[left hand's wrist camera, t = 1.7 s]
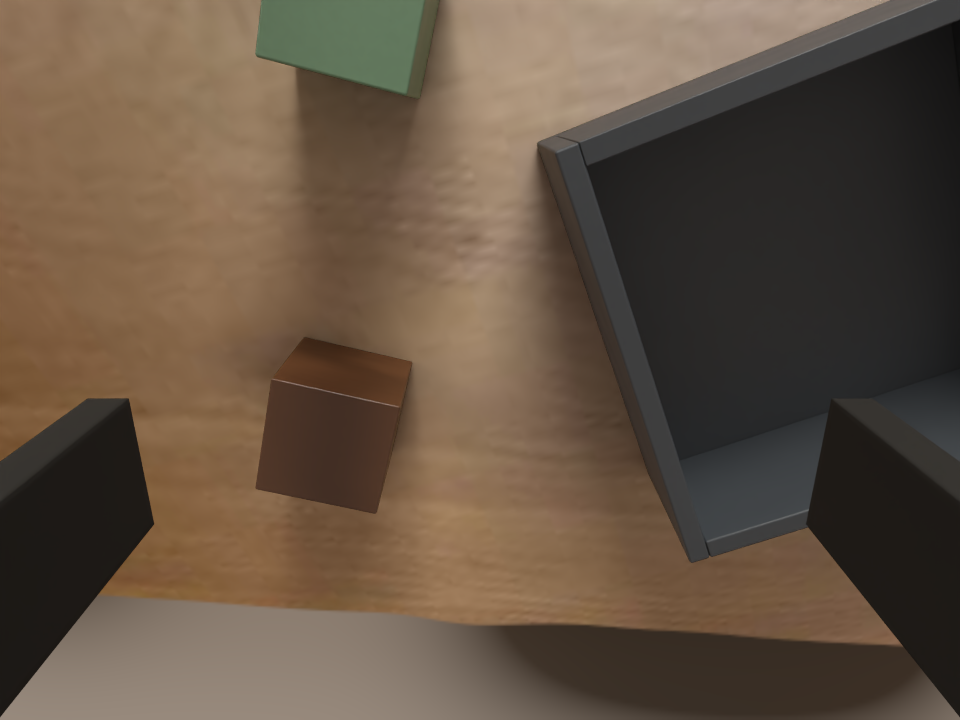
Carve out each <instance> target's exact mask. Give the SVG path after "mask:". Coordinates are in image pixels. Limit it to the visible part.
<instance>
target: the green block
mask: <svg viewBox="0 0 960 720" xmlns="http://www.w3.org/2000/svg"><path fill="white" fill-rule="evenodd" d="M438 5H439V0H262V1H261V9H260V18H259V27H258V35H257V44H256V53H255V54H256V56H257V57H259V58H263V59H267V60H271V61H274V62H278V63H282V64H286V65H290V66H293V67H297V68H301V69H305V70H309V71H312V72H316V73H320V74H324V75H328V76H331V77H335V78H339V79H343V80H346V81H350V82H354V83H358V84H362V85H365V86H369V87H373V88H377V89H381V90H384V91H388V92H392V93H396V94H400V95H403V96H408V97H412V98H416V99H419V98H420V95H421V90H422V85H423V80H424V75H425V70H426V65H427V60H428V55H429V50H430V45H431V40H432V35H433V30H434V25H435V20H436V15H437V10H438Z"/></svg>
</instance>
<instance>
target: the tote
mask: <svg viewBox="0 0 960 720" xmlns="http://www.w3.org/2000/svg"><path fill="white" fill-rule="evenodd" d="M537 146H538V149H539V152H540V155H541V158H542V161H543V164H544V167H545V169H546V172H547V175H548V178H549V181H550V184H551V187H552V190H553V193H554V196H555V199H556V202H557V205H558V208H559V211H560V214H561V217H562V220H563V223H564V226H565V229H566V232H567V234H568V237H569V240H570V243H571V246H572V249H573V252H574V255H575V258H576V261H577V264H578V267H579V270H580V273H581V276H582V279H583V282H584V285H585V288H586V291H587V294H588V296H589V299H590V302H591V305H592V308H593V311H594V314H595V317H596V320H597V323H598V326H599V329H600V332H601V335H602V338H603V341H604V344H605V347H606V350H607V353H608V356H609V358H610V361H611V364H612V367H613V370H614V373H615V376H616V379H617V382H618V385H619V388H620V391H621V394H622V397H623V400H624V403H625V406H626V409H627V412H628V415H629V418H630V421H631V423H632V426H633V429H634V432H635V435H636V438H637V441H638V444H639V447H640V450H641V453H642V456H643V459H644V462H645V465H646V468H647V471H648V474H649V476H650V478H651V480H652V482H653V485H654V487H655V489H656V491H657V493H658V495H659V497H660V499H661V502H662V504H663V506H664V508H665V510H666V512H667V514H668V516H669V519H670V521H671V523H672V525H673V527H674V529H675V531H676V533H677V536H678V538H679V540H680V542H681V544H682V546H683V548H684V550H685V553H686V555H687V557H688V559H689V561H690V562H691V563H693V562H696V561H700V560H703V559H706V558H708V557H709V555H710V556H711V557H713V556H716V555H719V554H723V553H726V552H729V551H732V550H736V549H739V548H742V547H745V546H749V545H752V544H755V543H758V542H762V541H765V540H768V539H771V538H775V537H778V536H781V535H784V534H788V533H791V532H794V531H797V530H801V529H804V528H807V527H808V526H807V525H806V521H807V516H808V511H809V506H810V501H811V496H812V491H813V487H814V482H815V477H816V472H817V467H818V462H819V457H820V452H821V447H822V442H823V437H824V432H825V427H826V422H827V417H828V413H829V408H830V403H831V399H874V400H875V401H876V402H878V403H879V404H881V405H882V406H883V407H885V408H886V409H887V410H889V411H890V412H892V413H893V414H894V415H896V416H897V417H899V418H900V419H901V420H903V421H904V422H906V423H907V424H908V425H910V426H911V427H912V428H914V429H915V430H917V431H918V432H919V433H921V434H922V435H924V436H925V437H926V438H928V439H929V440H930V441H932V442H933V443H935V444H936V445H937V446H939V447H940V448H942V449H943V450H944V451H946V452H947V453H949V454H950V455H951V456H953V457H954V458H955V459H957V460H958V461H960V0H890V1H888V2H885V3H883V4H880V5H878V6H875V7H873V8H870V9H868V10H865V11H863V12H860V13H858V14H855V15H853V16H850V17H848V18H845V19H843V20H840V21H838V22H835V23H833V24H830V25H828V26H825V27H823V28H820V29H818V30H815V31H813V32H810V33H808V34H805V35H803V36H800V37H798V38H796V39H793V40H791V41H788V42H786V43H783V44H781V45H778V46H776V47H773V48H771V49H768V50H766V51H763V52H761V53H758V54H756V55H753V56H751V57H748V58H746V59H743V60H741V61H738V62H736V63H733V64H731V65H728V66H726V67H723V68H721V69H718V70H716V71H713V72H711V73H708V74H706V75H703V76H701V77H699V78H696V79H694V80H691V81H689V82H686V83H684V84H681V85H679V86H676V87H674V88H671V89H669V90H666V91H664V92H661V93H659V94H656V95H654V96H651V97H649V98H646V99H644V100H641V101H639V102H636V103H634V104H631V105H629V106H626V107H624V108H621V109H619V110H616V111H614V112H611V113H609V114H607V115H604V116H602V117H599V118H597V119H594V120H592V121H589V122H587V123H584V124H582V125H579V126H577V127H574V128H572V129H569V130H567V131H564V132H562V133H559V134H557V135H554V136H552V137H549V138H547V139H544V140H542V141H539V142H538V143H537Z"/></svg>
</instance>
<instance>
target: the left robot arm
mask: <svg viewBox="0 0 960 720" xmlns="http://www.w3.org/2000/svg"><path fill="white" fill-rule="evenodd" d="M153 525H154V521H153V516H152V511H151V506H150V501H149V496H148V491H147V487H146V482H145V477H144V472H143V467H142V462H141V457H140V452H139V447H138V442H137V437H136V432H135V427H134V422H133V417H132V413H131V408H130V403H129V399H86V400H85V401H84V402H82V403H81V404H79V405H78V406H77V407H75V408H74V409H73V410H71V411H70V412H68V413H67V414H66V415H64V416H63V417H61V418H60V419H59V420H57V421H56V422H54V423H53V424H52V425H50V426H49V427H48V428H46V429H45V430H43V431H42V432H41V433H39V434H38V435H36V436H35V437H34V438H32V439H31V440H30V441H28V442H27V443H25V444H24V445H23V446H21V447H20V448H18V449H17V450H16V451H14V452H13V453H11V454H10V455H9V456H7V457H6V458H5V459H3V460H2V461H0V717H1V715H2V714H3V713H4V712H5V710H6V709H7V708H8V707H9V705H10V704H11V703H12V702H13V700H14V699H15V698H16V697H17V695H18V694H19V693H20V692H21V690H22V689H23V688H24V687H25V685H26V684H27V683H28V681H29V680H30V679H31V678H32V676H33V675H34V674H35V673H36V672H37V670H38V669H39V668H40V666H41V665H42V664H43V663H44V661H45V660H46V659H47V658H48V656H49V655H50V654H51V653H52V651H53V650H54V649H55V648H56V646H57V645H58V644H59V643H60V641H61V640H62V639H63V638H64V636H65V635H66V634H67V633H68V631H69V630H70V629H71V628H72V626H73V625H74V624H75V623H76V621H77V620H78V619H79V618H80V616H81V615H82V614H83V613H84V611H85V610H86V609H87V608H88V606H89V605H90V604H91V603H92V601H93V600H94V599H95V598H96V596H97V595H98V594H99V593H100V591H101V590H102V589H103V588H104V586H105V585H106V584H107V583H108V581H109V580H110V579H111V578H112V576H113V575H114V574H115V573H116V571H117V570H118V569H119V568H120V566H121V565H122V564H123V562H124V561H125V560H126V559H127V557H128V556H129V555H130V554H131V552H132V551H133V550H134V549H135V547H136V546H137V545H138V544H139V542H140V541H141V540H142V539H143V537H144V536H145V535H146V534H147V532H148V531H149V530H150V529H151V527H152V526H153ZM806 525H807V526H808V527H809V529H810V530H811V531H812V532H813V534H814V535H815V536H816V537H817V539H818V540H819V541H820V542H821V544H822V545H823V546H824V547H825V549H826V550H827V551H828V552H829V554H830V555H831V556H832V557H833V559H834V560H835V561H836V563H837V564H838V565H839V566H840V568H841V569H842V570H843V571H844V573H845V574H846V575H847V576H848V578H849V579H850V580H851V581H852V583H853V584H854V585H855V586H856V588H857V589H858V590H859V591H860V593H861V594H862V595H863V596H864V598H865V599H866V600H867V601H868V603H869V604H870V605H871V606H872V608H873V609H874V610H875V611H876V613H877V614H878V615H879V616H880V618H881V619H882V620H883V621H884V623H885V624H886V625H887V626H888V628H889V629H890V630H891V631H892V633H893V634H894V635H895V636H896V638H897V639H898V640H899V641H900V643H901V644H902V645H903V646H904V648H905V649H906V650H907V651H908V653H909V654H910V655H911V656H912V658H913V659H914V660H915V661H916V663H917V664H918V665H919V666H920V668H921V669H922V670H923V671H924V673H925V674H926V675H927V677H928V678H929V679H930V680H931V682H932V683H933V684H934V685H935V687H936V688H937V689H938V690H939V692H940V693H941V694H942V695H943V697H944V698H945V699H946V700H947V702H948V703H949V704H950V705H951V707H952V708H953V709H954V710H955V712H956V713H957V714H958V715H959V717H960V461H958V460H957V459H955V458H954V457H953V456H951V455H950V454H949V453H947V452H946V451H944V450H943V449H942V448H940V447H939V446H937V445H936V444H935V443H933V442H932V441H930V440H929V439H928V438H926V437H925V436H924V435H922V434H921V433H919V432H918V431H917V430H915V429H914V428H912V427H911V426H910V425H908V424H907V423H906V422H904V421H903V420H901V419H900V418H899V417H897V416H896V415H894V414H893V413H892V412H890V411H889V410H887V409H886V408H885V407H883V406H882V405H881V404H879V403H878V402H876V401H875V400H874V399H831V403H830V408H829V413H828V417H827V422H826V427H825V432H824V437H823V442H822V447H821V452H820V457H819V462H818V467H817V472H816V477H815V482H814V487H813V491H812V496H811V501H810V506H809V511H808V516H807V521H806Z"/></svg>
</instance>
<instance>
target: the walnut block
mask: <svg viewBox="0 0 960 720" xmlns="http://www.w3.org/2000/svg"><path fill="white" fill-rule="evenodd" d="M411 366H412V362H410V361H406V360H401V359H397V358H393V357H388V356H384V355H379V354H375V353H371V352H366V351H362V350H358V349H353V348H349V347H344V346H340V345H336V344H331V343H327V342H323V341H318V340H314V339H309V338H303V340H302V341H301V342H300V343H299V345H298V346H297V347H296V348H295V350H294V351H293V352H292V354H291V355H290V356H289V357H288V359H287V360H286V361H285V363H284V364H283V365H282V366H281V368H280V369H279V370H278V372H277V373H276V374H275V375H274V377H273V378H272V379H271V386H270V393H269V400H268V407H267V413H266V420H265V427H264V434H263V441H262V447H261V454H260V461H259V468H258V475H257V482H256V489H259V490H263V491H268V492H273V493H278V494H283V495H288V496H292V497H297V498H302V499H307V500H312V501H317V502H321V503H326V504H331V505H336V506H341V507H345V508H350V509H355V510H360V511H365V512H370V513H374V514H376V513H377V509H378V505H379V502H380V498H381V494H382V490H383V486H384V482H385V478H386V474H387V470H388V466H389V463H390V459H391V455H392V450H393V446H394V441H395V437H396V432H397V428H398V424H399V419H400V415H401V410H402V406H403V401H404V397H405V393H406V388H407V384H408V379H409V375H410V370H411Z"/></svg>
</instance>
